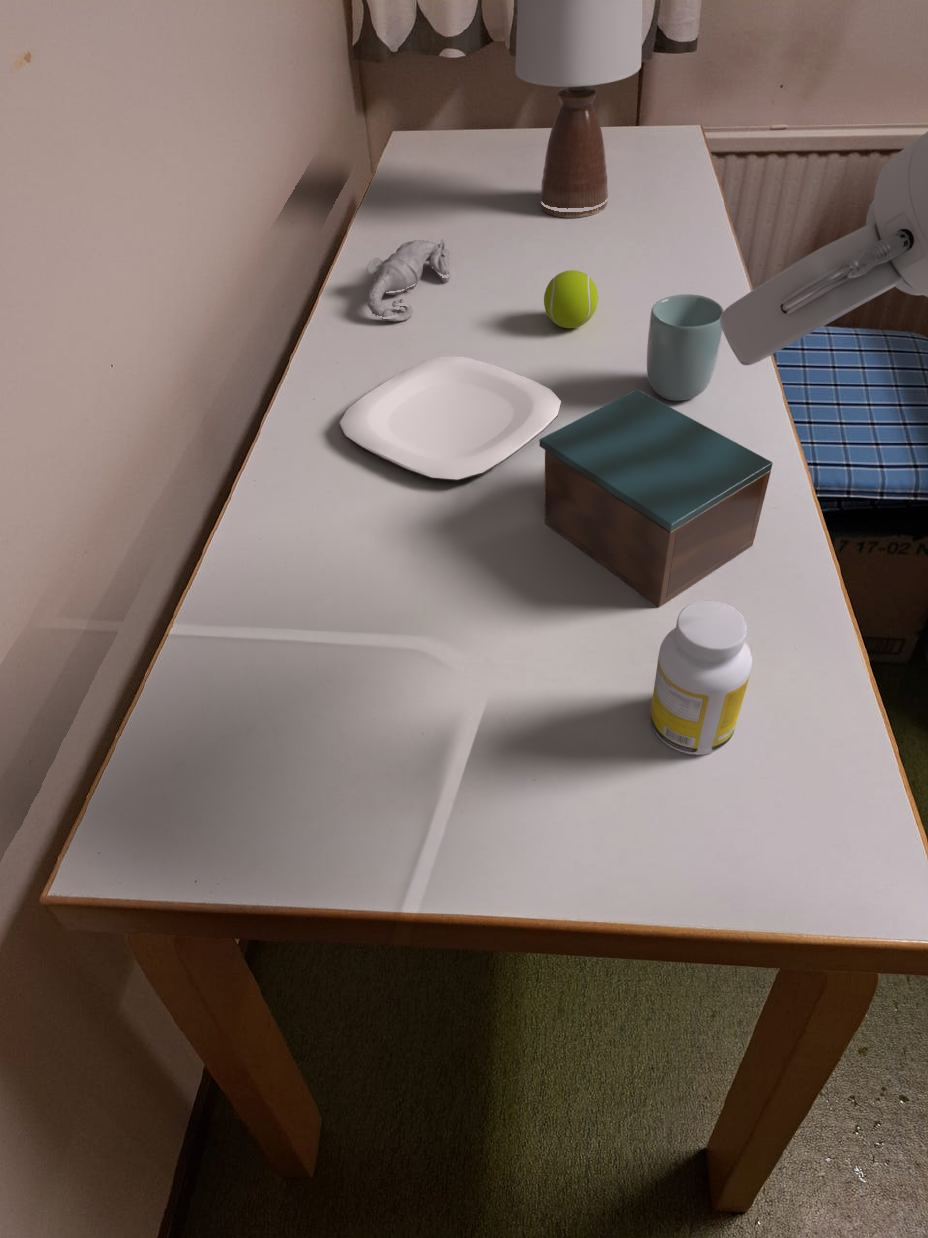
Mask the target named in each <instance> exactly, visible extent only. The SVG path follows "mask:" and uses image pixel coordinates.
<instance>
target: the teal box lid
mask: <svg viewBox="0 0 928 1238" xmlns="http://www.w3.org/2000/svg"><path fill="white" fill-rule="evenodd" d="M538 441H539V442H538V443H539V447H540V448H542V449H543V450H544V451H545V450H546V451H547V452H549V453H551V454H552V455H554V456H555V457H557V458H558V459H560V460H561V461H563V462H564V463H566V464H567V465H569V466H570V467H572V468H573V469H575V470H576V471H578V472H580V473H581V474H583V475H584V476H586V477H587V478H589V479H590V480H592V481H593V482H595V483H596V484H598V485H599V486H601V487H602V488H604V489H605V490H607V491H608V492H610V493H612V494H613V495H615V496H616V497H618V498H619V499H621V500H622V501H624V502H625V503H627V504H628V505H630V506H631V507H633V508H634V509H636V510H637V511H639V512H641V513H642V514H644V515H645V516H647V517H648V518H650V519H651V520H653V521H654V522H656V523H657V524H659V525H660V526H662V527H663V528H665V529H666V530H668V531H670V532H671V531H673V530H674V529H676V528H678V527H679V526H681V525H682V524H684V523H686V522H687V521H689V520H690V519H692V518H694V517H695V516H697V515H699V514H700V513H702V512H703V511H705V510H707V509H708V508H710V507H711V506H713V505H715V504H716V503H718V502H720V501H721V500H723V499H724V498H726V497H728V496H729V495H731V494H733V493H734V492H736V491H737V490H739V489H741V488H742V487H744V486H745V485H747V484H749V483H750V482H752V481H754V480H755V479H757V478H758V477H760V476H762V475H763V474H765V473H766V472H768V471H770V470H771V471H772V468H773V464H774V463H773V461H771V460H769V459H768V458H765V457H764V456H761V454H758V453H757V452H754V451H753V450H751V449H749V448H747V447H745V446H743V445H741V444H739V443H738V442H736V441H735V440H732V439H730V438H728V437H727V436H724V435H722V434H721V433H719V432H717V431H716V430H713V429H712V428H710V427H708V426H706V425H704V424H702V423H700V422H699V421H697V420H695V419H693V418H692V417H690V416H688V415H686V414H684V413H682V412H680V411H679V410H676V409H674V408H672V407H671V406H669V405H667V404H665V403H663V402H662V401H660V400H658V399H656V398H654V397H652V396H651V395H648V394H647V393H645V392H643V391H641V390H639V389H638V388H637V389H634V390H633V391H631V392H629V393H626V394H624V395H623V396H621V397H619V398H617V399H615V400H613V401H611V402H609V403H607V404H605V405H603V406H601V407H599V408H597V409H596V410H593V411H592V412H590V413H588V414H586V415H583V416H582V417H580V418H578V419H576V420H574V421H572V422H571V423H569V424H567V425H565V426H562V427H560V428H558V429H557V430H555V431H553V432H551V433H549V434H547V435H545V436H543V437H541V438H540V439H539V440H538Z"/></svg>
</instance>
